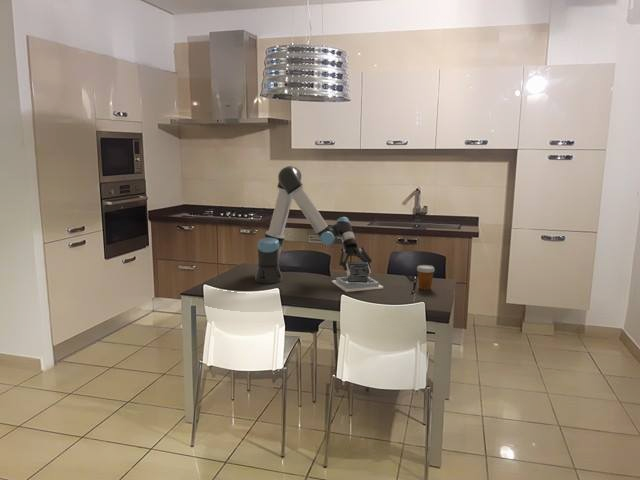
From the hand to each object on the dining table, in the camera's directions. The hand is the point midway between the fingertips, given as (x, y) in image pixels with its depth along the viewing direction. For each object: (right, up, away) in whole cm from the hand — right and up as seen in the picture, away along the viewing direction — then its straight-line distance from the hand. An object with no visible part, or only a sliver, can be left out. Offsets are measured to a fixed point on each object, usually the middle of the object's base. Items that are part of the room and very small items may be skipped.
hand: (359, 274), depth 277 cm
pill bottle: (+35, -8, 0) cm, 36 cm away
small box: (-1, -4, +3) cm, 5 cm away
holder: (-1, -6, +4) cm, 7 cm away
